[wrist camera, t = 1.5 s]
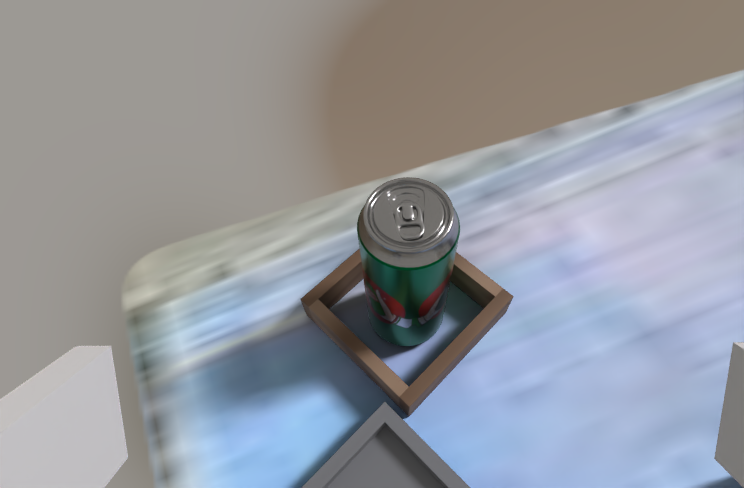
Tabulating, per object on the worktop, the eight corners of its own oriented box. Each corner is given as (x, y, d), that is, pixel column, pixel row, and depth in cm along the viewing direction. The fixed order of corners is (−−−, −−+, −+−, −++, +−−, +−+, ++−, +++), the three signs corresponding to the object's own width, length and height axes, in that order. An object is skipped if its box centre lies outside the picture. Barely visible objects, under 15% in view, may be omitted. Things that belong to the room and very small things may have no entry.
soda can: (436, 277, 35) (452, 166, 24) (448, 345, 32) (471, 253, 22) (366, 284, 35) (352, 175, 24) (371, 352, 32) (359, 263, 22)
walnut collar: (506, 312, 33) (513, 296, 31) (408, 416, 30) (409, 406, 28) (402, 230, 37) (403, 210, 35) (306, 314, 34) (300, 299, 32)
